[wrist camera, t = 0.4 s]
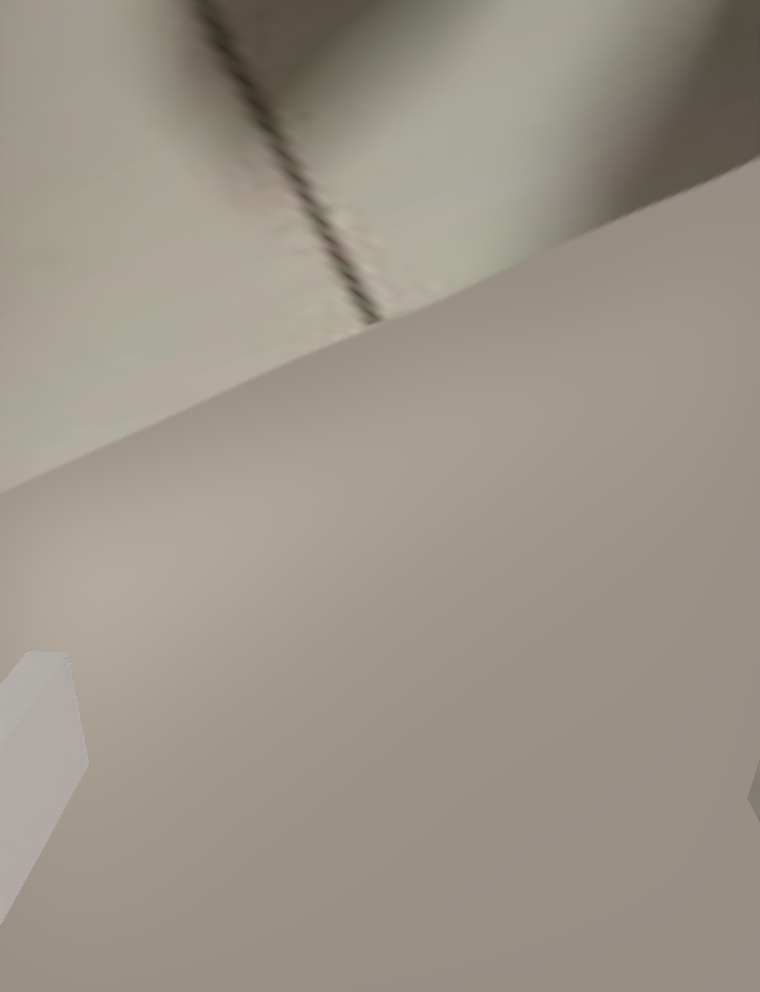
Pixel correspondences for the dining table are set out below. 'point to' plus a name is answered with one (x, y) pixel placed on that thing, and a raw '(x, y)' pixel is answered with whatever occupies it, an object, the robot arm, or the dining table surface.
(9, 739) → the robot arm
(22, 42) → the dining table surface
